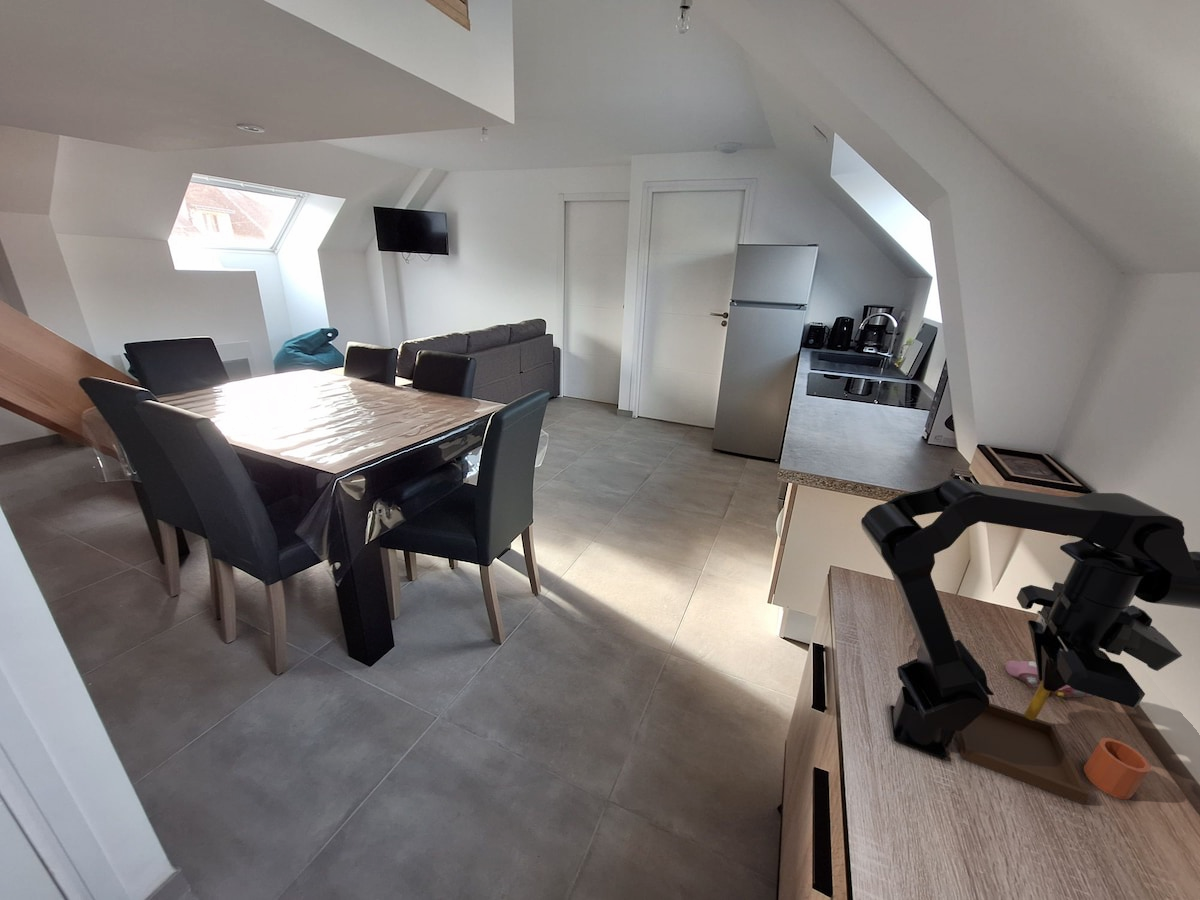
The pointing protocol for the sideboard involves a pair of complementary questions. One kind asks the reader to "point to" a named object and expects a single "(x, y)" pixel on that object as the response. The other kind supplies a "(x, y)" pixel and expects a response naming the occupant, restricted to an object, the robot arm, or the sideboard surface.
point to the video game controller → (1030, 676)
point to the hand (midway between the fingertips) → (1046, 685)
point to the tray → (1022, 751)
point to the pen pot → (1116, 768)
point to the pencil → (1037, 702)
